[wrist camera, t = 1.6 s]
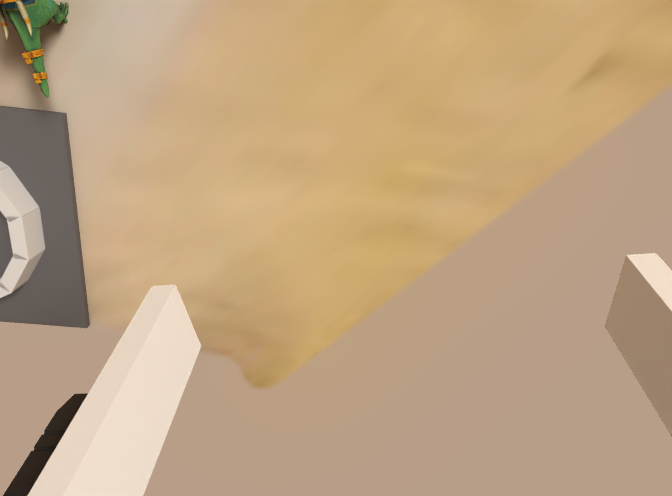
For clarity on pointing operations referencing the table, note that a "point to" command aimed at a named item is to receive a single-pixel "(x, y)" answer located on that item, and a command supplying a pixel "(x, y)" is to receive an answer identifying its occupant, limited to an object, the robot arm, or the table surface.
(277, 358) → the table surface
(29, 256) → the can holder
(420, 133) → the table surface
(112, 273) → the table surface
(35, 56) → the figurine
